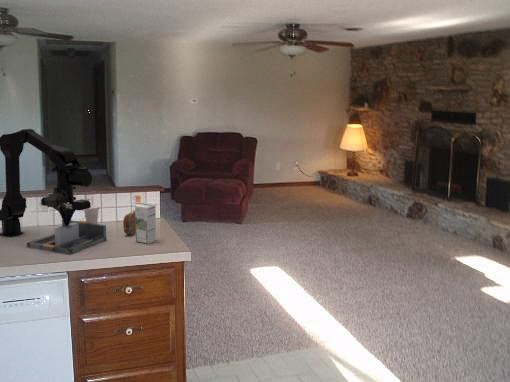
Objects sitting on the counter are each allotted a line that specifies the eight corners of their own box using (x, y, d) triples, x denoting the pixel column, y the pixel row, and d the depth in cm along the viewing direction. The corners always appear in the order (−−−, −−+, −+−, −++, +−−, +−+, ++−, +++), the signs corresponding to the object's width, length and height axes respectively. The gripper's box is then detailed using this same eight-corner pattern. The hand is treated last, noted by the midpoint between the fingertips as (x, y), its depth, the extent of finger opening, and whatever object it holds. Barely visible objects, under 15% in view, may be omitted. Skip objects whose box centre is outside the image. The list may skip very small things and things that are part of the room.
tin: (129, 237, 216) (129, 216, 214) (122, 236, 216) (121, 215, 215) (144, 227, 230) (144, 208, 228) (137, 227, 231) (137, 207, 229)
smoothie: (97, 231, 222) (96, 198, 219) (81, 231, 222) (80, 197, 219) (102, 227, 228) (101, 194, 225) (86, 227, 228) (85, 194, 225)
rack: (26, 246, 200) (25, 230, 199) (65, 233, 218) (64, 218, 217) (70, 254, 192) (69, 237, 191) (106, 240, 210) (105, 224, 209)
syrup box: (156, 240, 212) (156, 204, 209) (147, 244, 207) (147, 206, 204) (144, 238, 214) (143, 202, 211) (135, 242, 209) (134, 205, 206)
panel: (55, 246, 201) (54, 228, 200) (74, 240, 210) (73, 222, 209) (60, 247, 200) (59, 229, 199) (79, 240, 209) (78, 223, 208)
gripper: (28, 185, 197) (31, 227, 200) (69, 190, 190) (71, 233, 193) (51, 180, 207) (53, 220, 210) (91, 185, 200) (92, 226, 203)
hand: (66, 225), depth 204 cm, fingers closed
